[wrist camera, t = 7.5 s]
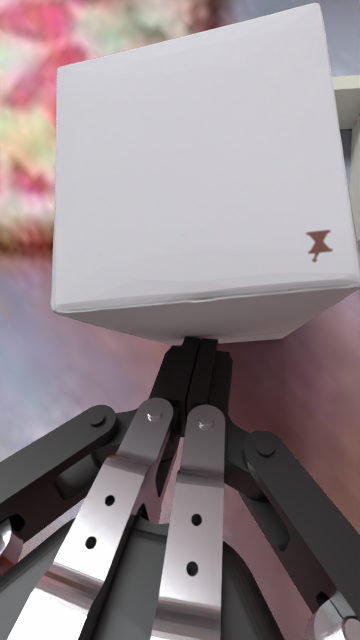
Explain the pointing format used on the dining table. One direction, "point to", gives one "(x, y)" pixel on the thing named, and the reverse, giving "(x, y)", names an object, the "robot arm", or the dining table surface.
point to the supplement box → (204, 185)
